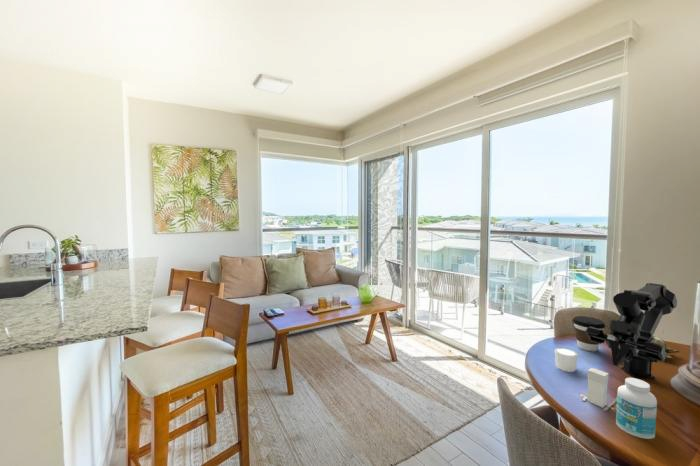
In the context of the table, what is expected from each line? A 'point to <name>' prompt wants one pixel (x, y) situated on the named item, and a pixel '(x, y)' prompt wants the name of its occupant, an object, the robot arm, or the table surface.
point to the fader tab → (597, 387)
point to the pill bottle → (636, 409)
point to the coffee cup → (580, 327)
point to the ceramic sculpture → (666, 349)
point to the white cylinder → (566, 359)
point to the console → (606, 406)
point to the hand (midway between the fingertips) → (614, 365)
